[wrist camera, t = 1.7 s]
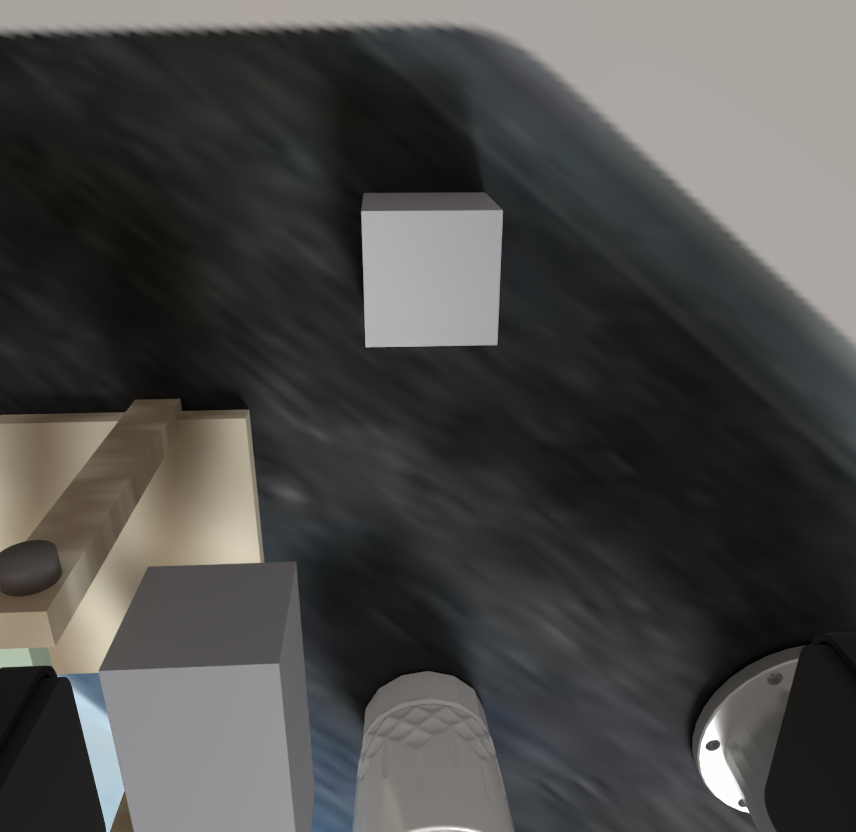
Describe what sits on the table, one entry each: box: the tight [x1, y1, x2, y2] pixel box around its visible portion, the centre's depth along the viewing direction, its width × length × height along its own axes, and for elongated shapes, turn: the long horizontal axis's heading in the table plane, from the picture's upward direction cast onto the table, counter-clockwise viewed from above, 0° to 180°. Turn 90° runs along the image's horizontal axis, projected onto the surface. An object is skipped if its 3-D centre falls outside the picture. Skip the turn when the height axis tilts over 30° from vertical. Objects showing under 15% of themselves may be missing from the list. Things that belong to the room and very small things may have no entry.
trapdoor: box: [0, 562, 315, 832], centre depth 25 cm, size 19×12×5 cm, turn 90°
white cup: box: [352, 671, 515, 832], centre depth 38 cm, size 8×8×10 cm
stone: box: [361, 192, 503, 347], centre depth 30 cm, size 5×5×5 cm
